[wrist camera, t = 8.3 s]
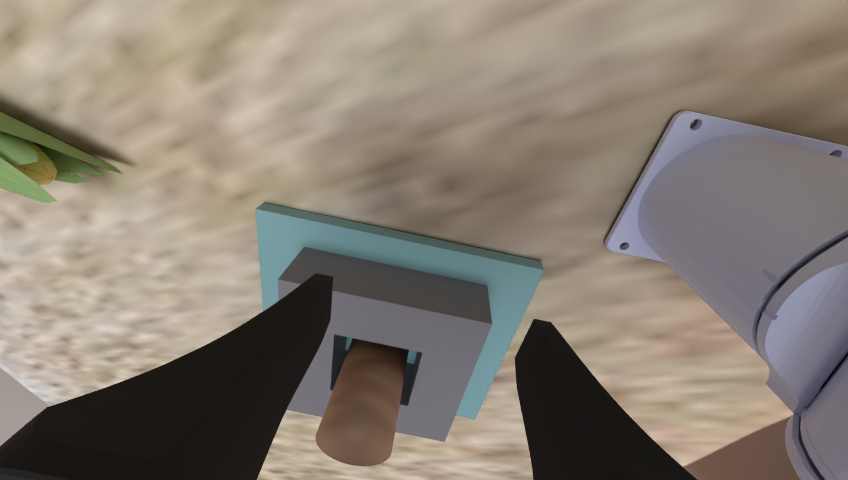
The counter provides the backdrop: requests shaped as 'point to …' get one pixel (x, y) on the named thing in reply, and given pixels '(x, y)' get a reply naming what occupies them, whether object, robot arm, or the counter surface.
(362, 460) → the peg
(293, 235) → the socket board
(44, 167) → the edible corn
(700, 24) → the counter surface
